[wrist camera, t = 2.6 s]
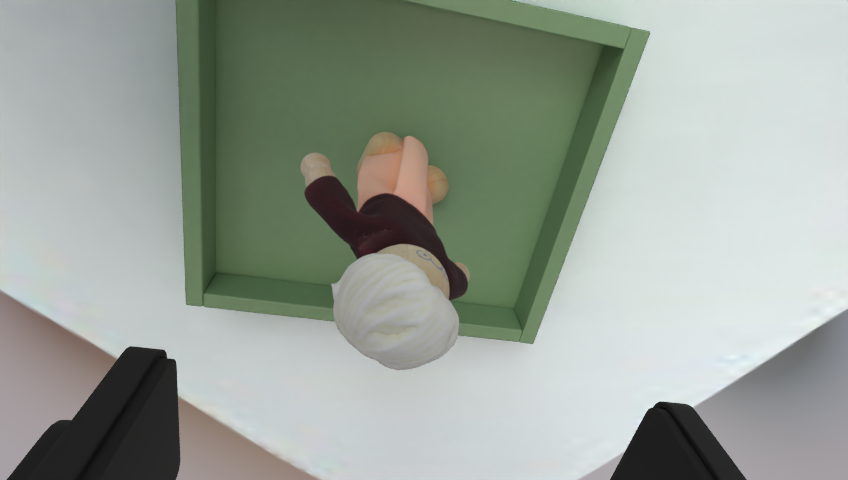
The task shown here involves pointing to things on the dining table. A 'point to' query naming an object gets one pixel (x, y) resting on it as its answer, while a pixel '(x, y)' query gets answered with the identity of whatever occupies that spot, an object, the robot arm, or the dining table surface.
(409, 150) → the grandmother figurine
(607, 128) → the tray
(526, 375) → the dining table surface
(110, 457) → the robot arm
